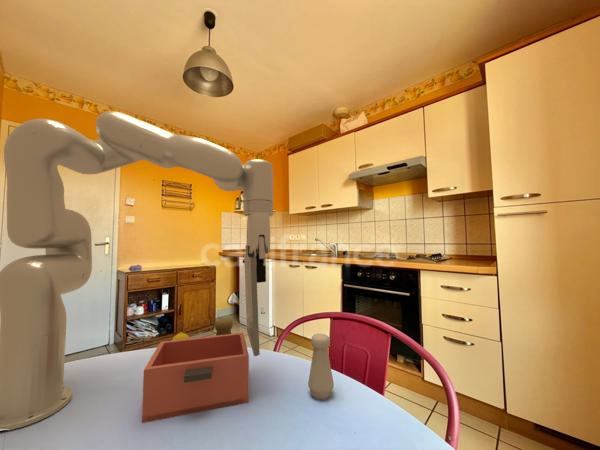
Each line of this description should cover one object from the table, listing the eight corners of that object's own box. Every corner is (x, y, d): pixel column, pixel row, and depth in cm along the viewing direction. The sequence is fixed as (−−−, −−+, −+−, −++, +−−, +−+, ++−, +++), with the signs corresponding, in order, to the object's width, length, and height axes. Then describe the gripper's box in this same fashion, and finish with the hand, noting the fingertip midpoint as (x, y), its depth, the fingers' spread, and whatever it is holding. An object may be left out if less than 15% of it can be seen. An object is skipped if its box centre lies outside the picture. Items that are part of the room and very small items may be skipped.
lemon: (164, 364, 70) (165, 334, 71) (178, 355, 76) (179, 328, 76) (181, 366, 69) (182, 336, 69) (194, 357, 74) (195, 329, 75)
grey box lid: (249, 246, 55) (255, 245, 55) (243, 244, 70) (248, 244, 70) (254, 358, 53) (259, 357, 54) (247, 332, 69) (251, 331, 69)
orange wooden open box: (137, 432, 45) (139, 376, 46) (161, 377, 63) (162, 338, 64) (249, 409, 51) (249, 360, 52) (242, 365, 69) (242, 329, 70)
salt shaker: (315, 383, 60) (315, 329, 61) (337, 391, 57) (337, 333, 58) (303, 397, 55) (303, 337, 56) (327, 405, 52) (326, 342, 53)
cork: (236, 352, 78) (237, 316, 78) (229, 361, 72) (229, 322, 72) (218, 351, 78) (218, 315, 79) (209, 360, 72) (209, 321, 73)
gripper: (241, 212, 70) (241, 278, 69) (246, 205, 55) (246, 288, 54) (268, 212, 72) (268, 276, 71) (279, 205, 58) (280, 286, 57)
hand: (259, 281), depth 63 cm, fingers closed
